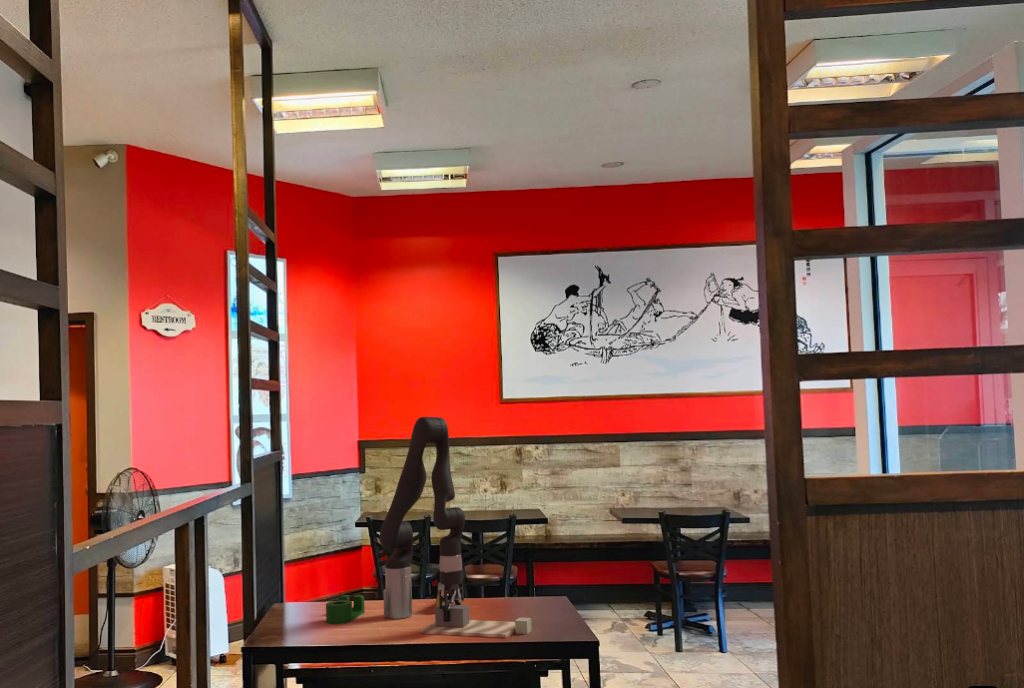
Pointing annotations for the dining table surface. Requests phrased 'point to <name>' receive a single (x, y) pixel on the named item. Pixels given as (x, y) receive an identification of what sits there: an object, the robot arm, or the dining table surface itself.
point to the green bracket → (344, 609)
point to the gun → (440, 587)
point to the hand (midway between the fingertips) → (452, 618)
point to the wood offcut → (523, 625)
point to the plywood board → (475, 629)
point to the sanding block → (453, 616)
